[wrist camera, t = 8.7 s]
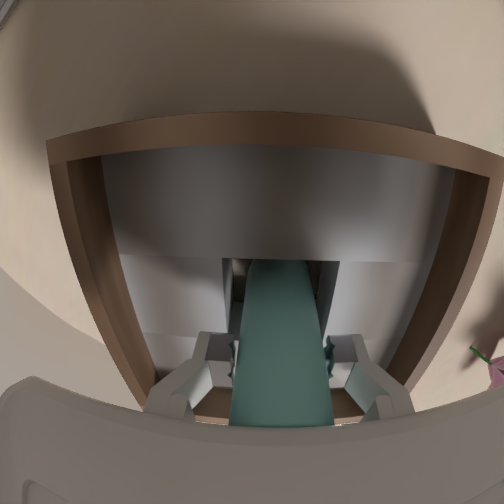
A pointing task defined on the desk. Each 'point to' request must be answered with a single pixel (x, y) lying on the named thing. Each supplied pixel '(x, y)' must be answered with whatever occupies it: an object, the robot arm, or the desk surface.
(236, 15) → the desk surface
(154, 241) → the bore box
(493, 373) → the lily
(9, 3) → the digital clock
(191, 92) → the desk surface
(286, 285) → the peg
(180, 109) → the desk surface
